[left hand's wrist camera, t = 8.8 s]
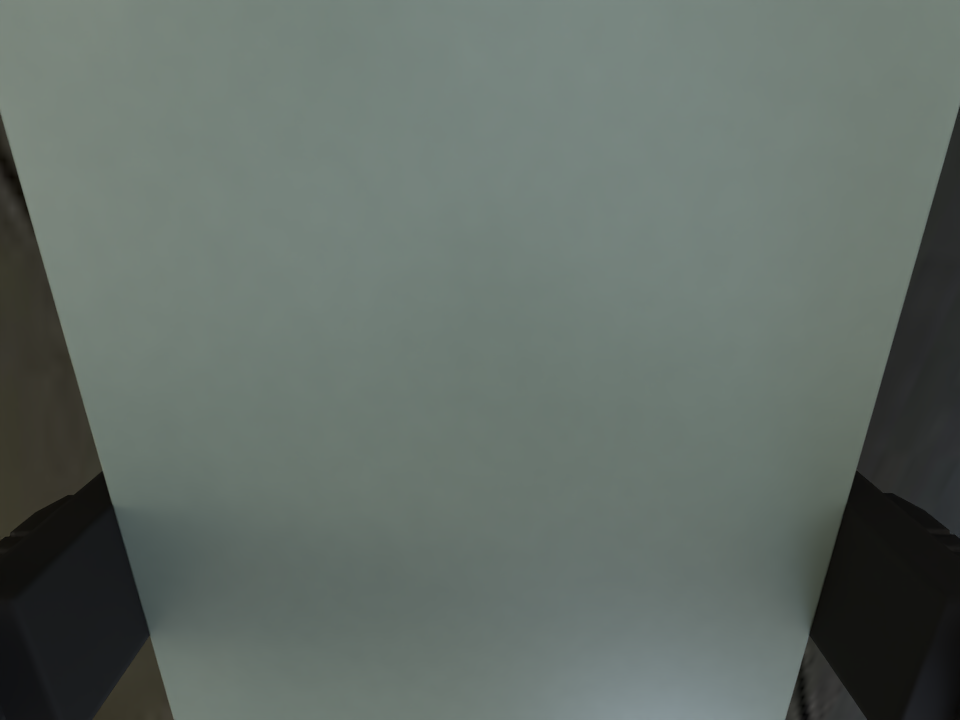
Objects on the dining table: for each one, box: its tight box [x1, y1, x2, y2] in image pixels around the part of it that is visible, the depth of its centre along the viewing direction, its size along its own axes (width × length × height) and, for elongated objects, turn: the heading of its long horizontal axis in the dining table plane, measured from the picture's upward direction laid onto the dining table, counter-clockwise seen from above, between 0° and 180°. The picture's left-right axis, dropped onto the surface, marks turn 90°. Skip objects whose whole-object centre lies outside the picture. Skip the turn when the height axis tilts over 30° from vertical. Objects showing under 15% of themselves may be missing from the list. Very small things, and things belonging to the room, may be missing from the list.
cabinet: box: [0, 0, 960, 720], centre depth 12 cm, size 18×11×11 cm, turn 0°
